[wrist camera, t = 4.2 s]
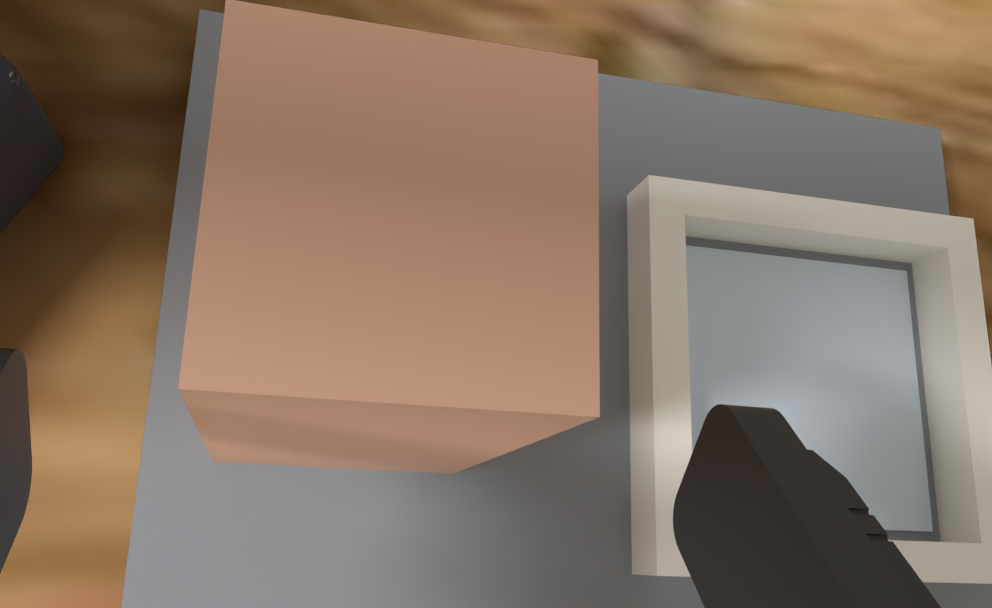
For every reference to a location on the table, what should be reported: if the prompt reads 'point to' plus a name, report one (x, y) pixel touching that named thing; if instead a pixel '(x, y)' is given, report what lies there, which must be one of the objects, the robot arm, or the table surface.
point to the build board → (632, 380)
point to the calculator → (22, 143)
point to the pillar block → (392, 247)
